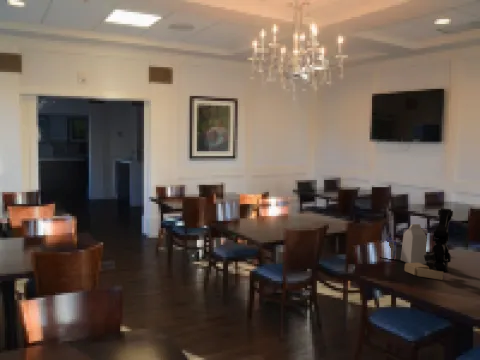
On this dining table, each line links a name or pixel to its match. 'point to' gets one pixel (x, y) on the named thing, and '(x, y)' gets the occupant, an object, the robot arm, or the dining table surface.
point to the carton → (414, 267)
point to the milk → (414, 245)
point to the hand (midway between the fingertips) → (437, 275)
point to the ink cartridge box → (392, 246)
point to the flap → (430, 273)
